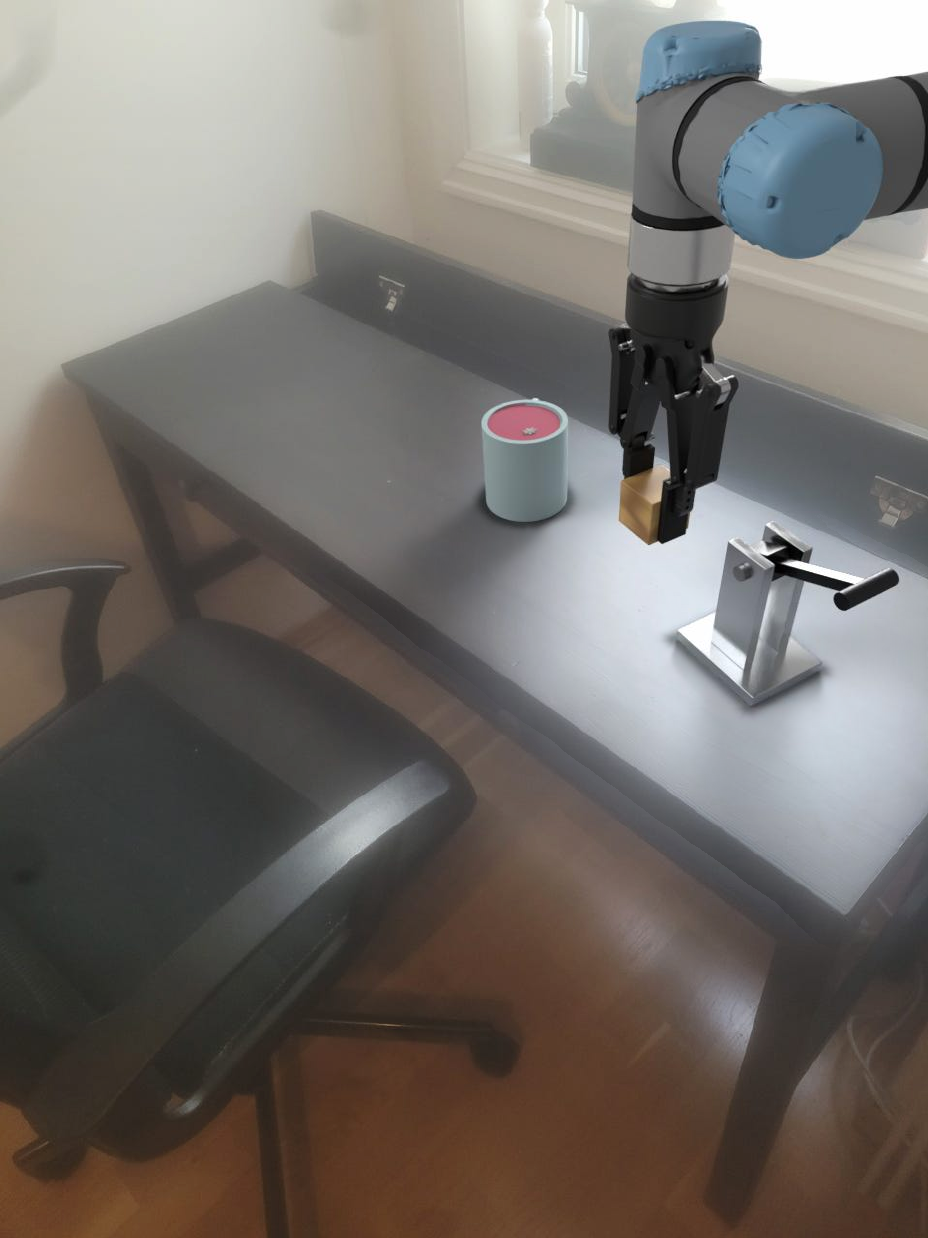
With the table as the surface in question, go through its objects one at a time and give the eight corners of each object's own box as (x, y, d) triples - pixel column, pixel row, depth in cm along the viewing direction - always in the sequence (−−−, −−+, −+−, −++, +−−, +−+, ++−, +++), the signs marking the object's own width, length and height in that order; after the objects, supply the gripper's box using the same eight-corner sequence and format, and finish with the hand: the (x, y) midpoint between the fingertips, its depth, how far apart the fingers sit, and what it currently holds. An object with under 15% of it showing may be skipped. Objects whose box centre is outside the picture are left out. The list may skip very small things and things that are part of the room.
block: (688, 528, 80) (693, 487, 77) (648, 546, 79) (652, 504, 75) (657, 504, 83) (661, 463, 80) (618, 520, 82) (620, 480, 78)
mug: (560, 524, 95) (561, 446, 88) (478, 518, 97) (473, 440, 90) (576, 457, 105) (578, 381, 98) (501, 452, 107) (498, 378, 100)
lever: (900, 594, 63) (898, 564, 62) (850, 619, 62) (848, 589, 61) (778, 560, 74) (775, 534, 73) (733, 581, 72) (729, 555, 71)
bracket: (820, 671, 77) (854, 559, 68) (750, 707, 74) (777, 596, 66) (742, 607, 83) (764, 498, 75) (676, 639, 81) (690, 529, 72)
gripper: (803, 298, 60) (750, 558, 76) (645, 228, 72) (628, 466, 88) (718, 327, 58) (682, 589, 74) (570, 250, 69) (566, 490, 85)
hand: (653, 522), depth 81 cm, fingers closed on block, 5 cm apart
